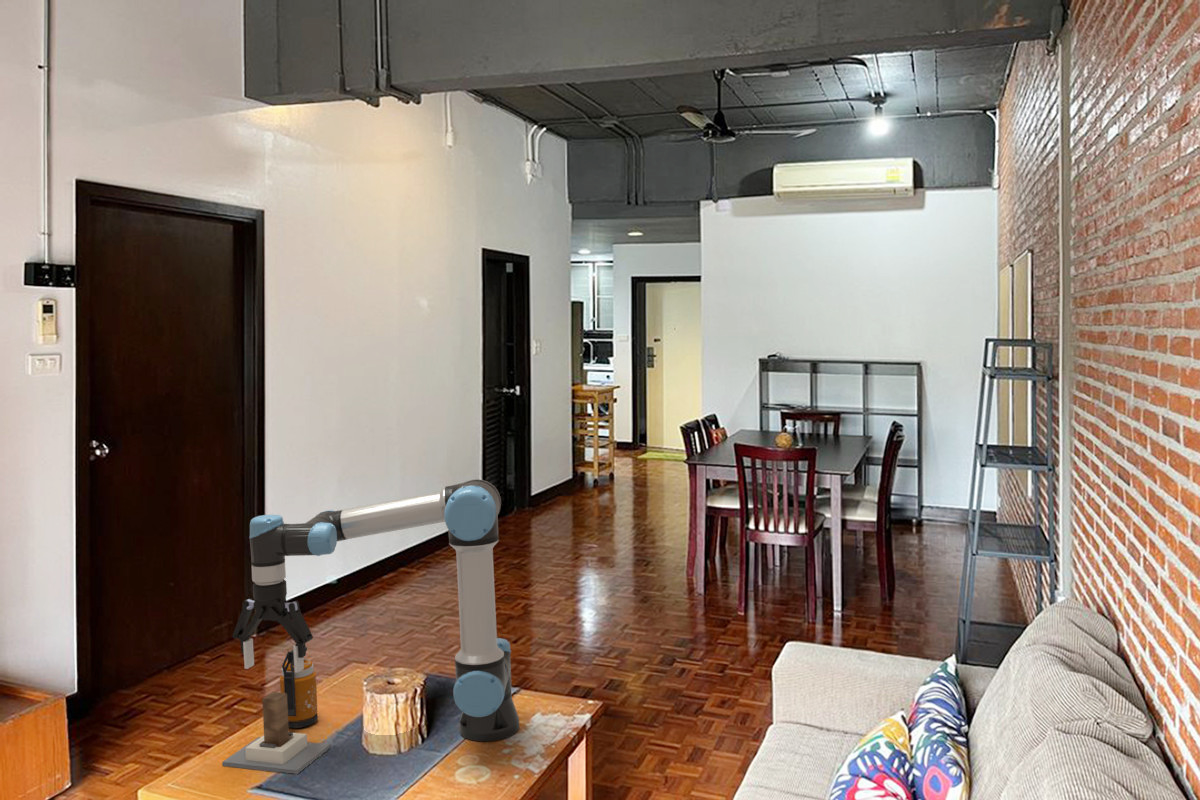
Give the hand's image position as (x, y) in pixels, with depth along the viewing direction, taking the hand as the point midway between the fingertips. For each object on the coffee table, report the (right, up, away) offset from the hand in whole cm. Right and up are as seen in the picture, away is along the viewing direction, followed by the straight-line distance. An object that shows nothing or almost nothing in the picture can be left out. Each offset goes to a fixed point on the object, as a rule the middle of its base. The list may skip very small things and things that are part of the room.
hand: (274, 668), depth 223 cm
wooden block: (0, -21, +1) cm, 21 cm away
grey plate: (0, -22, +1) cm, 22 cm away
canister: (-1, -21, +20) cm, 29 cm away
